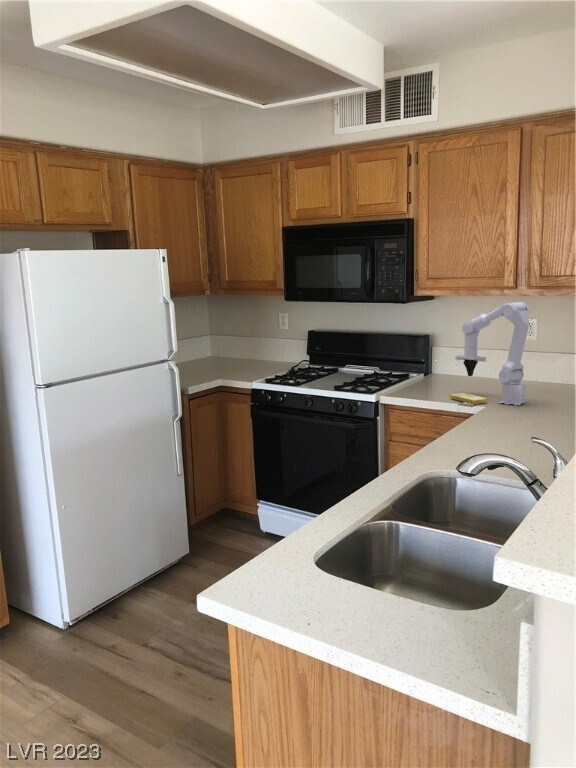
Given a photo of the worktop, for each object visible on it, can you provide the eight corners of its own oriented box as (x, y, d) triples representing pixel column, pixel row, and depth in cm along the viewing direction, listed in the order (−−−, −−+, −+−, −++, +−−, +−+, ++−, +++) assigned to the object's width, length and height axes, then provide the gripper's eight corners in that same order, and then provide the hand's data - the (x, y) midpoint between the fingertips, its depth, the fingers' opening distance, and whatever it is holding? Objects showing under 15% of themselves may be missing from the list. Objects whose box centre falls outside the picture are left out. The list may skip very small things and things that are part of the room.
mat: (482, 402, 273) (482, 402, 272) (472, 406, 265) (472, 406, 265) (468, 401, 277) (468, 400, 277) (457, 404, 270) (457, 404, 270)
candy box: (472, 405, 268) (487, 402, 271) (472, 400, 267) (487, 397, 270) (449, 398, 282) (464, 396, 286) (449, 394, 282) (464, 392, 285)
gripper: (489, 347, 283) (488, 376, 286) (460, 345, 293) (460, 373, 295) (482, 348, 278) (482, 378, 281) (453, 346, 288) (453, 375, 290)
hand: (470, 375), depth 288 cm, fingers closed
